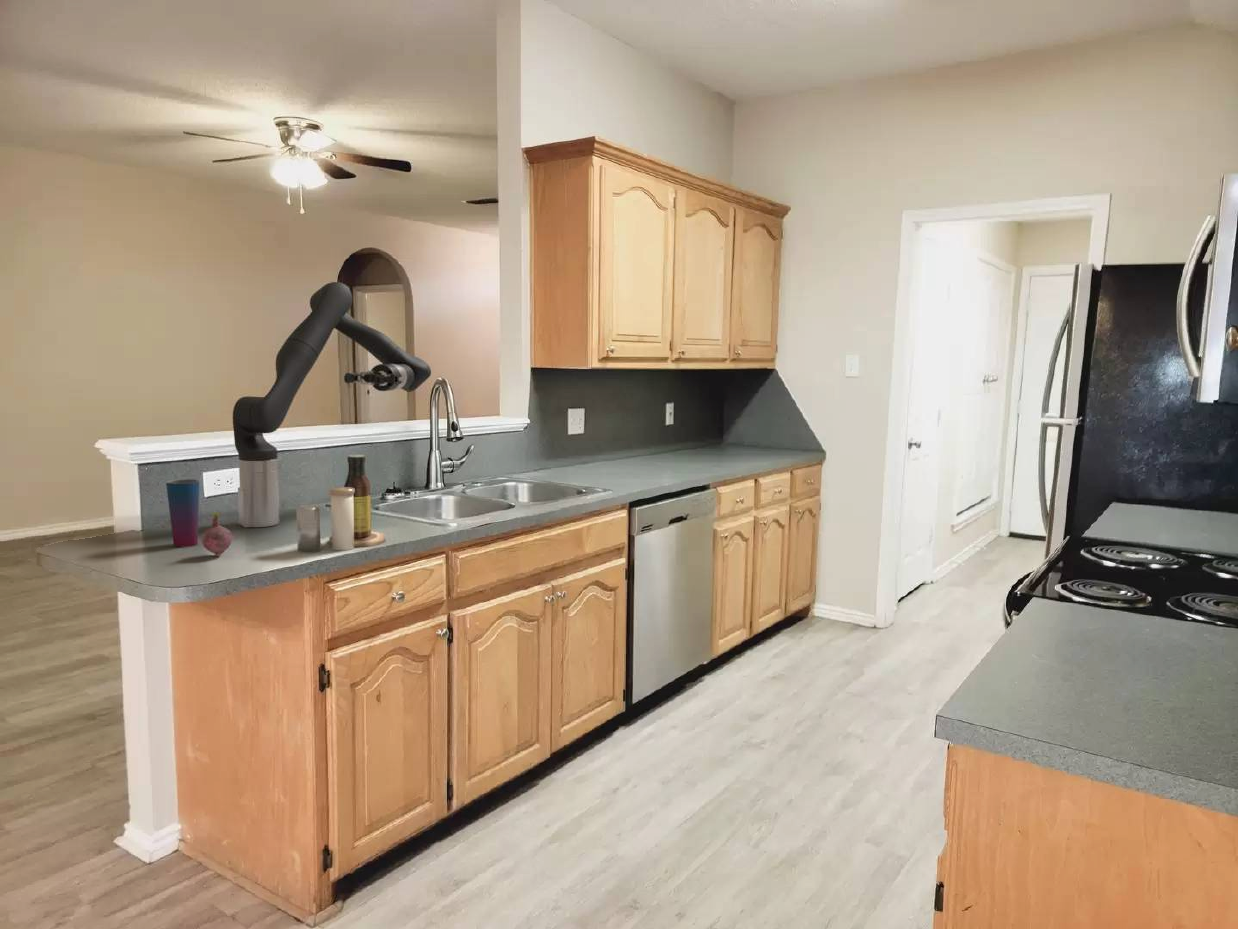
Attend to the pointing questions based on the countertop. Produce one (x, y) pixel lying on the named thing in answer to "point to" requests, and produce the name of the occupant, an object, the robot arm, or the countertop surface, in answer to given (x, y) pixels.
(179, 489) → the cup
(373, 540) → the oak coaster
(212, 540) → the vegetable
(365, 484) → the sauce bottle
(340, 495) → the cream jar
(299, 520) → the spice tin
